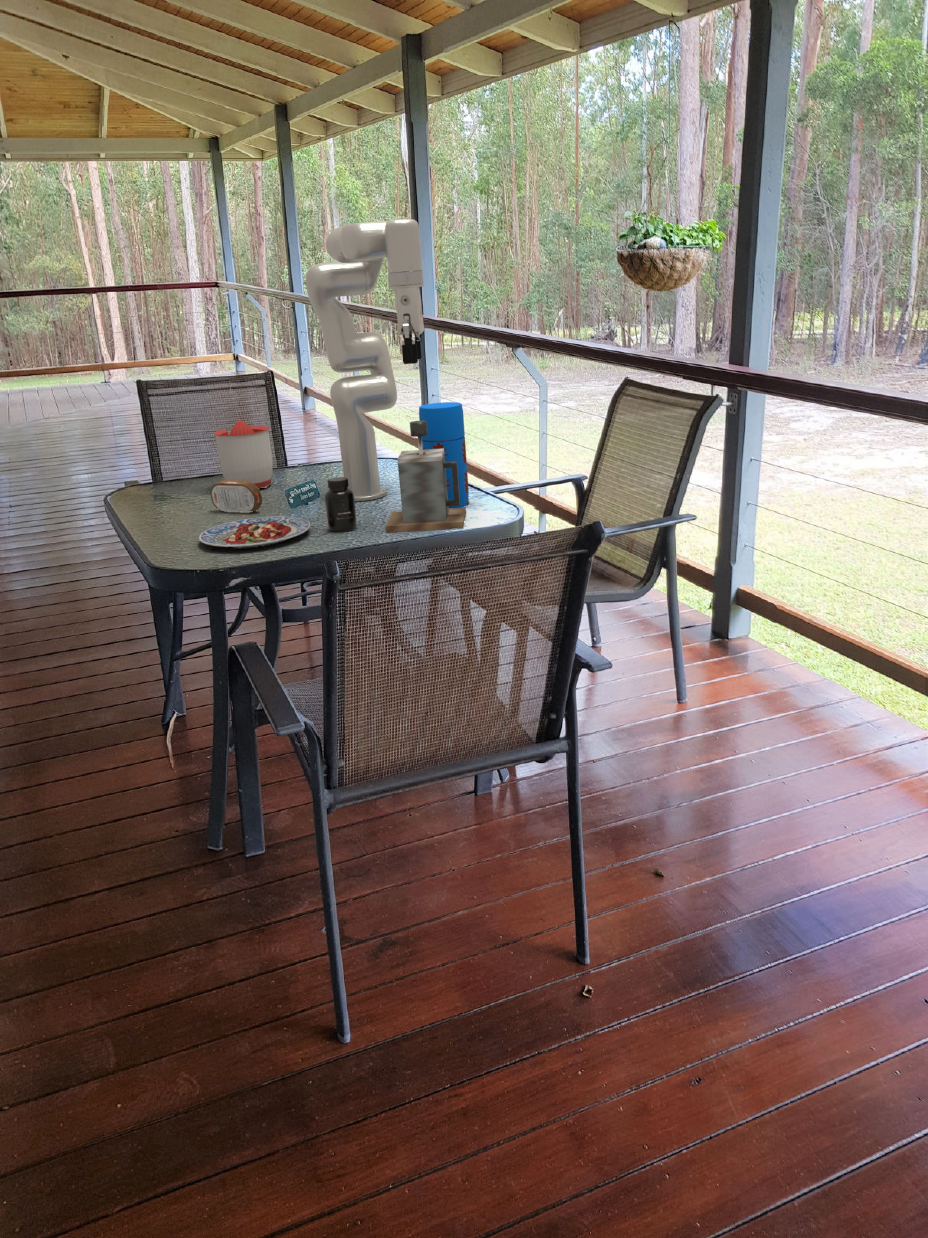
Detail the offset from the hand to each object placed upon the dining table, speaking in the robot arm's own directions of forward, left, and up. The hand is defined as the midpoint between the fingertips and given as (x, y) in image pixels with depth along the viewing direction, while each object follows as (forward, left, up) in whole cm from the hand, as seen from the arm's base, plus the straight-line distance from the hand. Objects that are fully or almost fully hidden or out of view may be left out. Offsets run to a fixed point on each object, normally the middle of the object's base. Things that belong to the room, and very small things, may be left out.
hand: (412, 361), depth 216 cm
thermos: (+4, +17, -38) cm, 41 cm away
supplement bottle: (-20, -1, -38) cm, 42 cm away
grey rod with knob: (0, 0, -34) cm, 34 cm away
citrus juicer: (-57, +54, -38) cm, 87 cm away
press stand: (0, 0, -37) cm, 37 cm away
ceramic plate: (-40, -5, -38) cm, 55 cm away
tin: (-52, +23, -38) cm, 68 cm away
